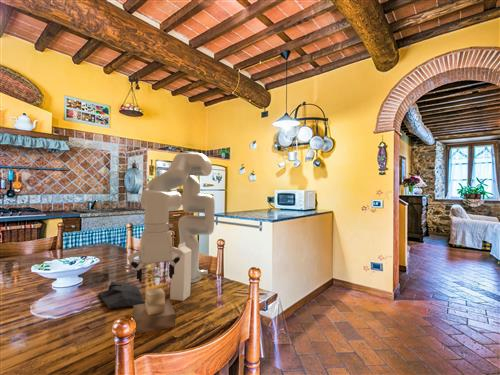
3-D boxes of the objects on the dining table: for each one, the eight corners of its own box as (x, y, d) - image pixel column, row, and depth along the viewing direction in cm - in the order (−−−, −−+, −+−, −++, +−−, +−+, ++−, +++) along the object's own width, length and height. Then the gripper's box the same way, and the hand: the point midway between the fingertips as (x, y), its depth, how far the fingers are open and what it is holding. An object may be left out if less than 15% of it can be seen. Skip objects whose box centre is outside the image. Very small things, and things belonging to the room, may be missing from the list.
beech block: (160, 305, 88) (161, 288, 88) (164, 311, 84) (165, 292, 84) (145, 308, 85) (145, 290, 86) (148, 315, 81) (148, 295, 81)
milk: (169, 299, 104) (171, 244, 104) (177, 293, 109) (178, 241, 110) (183, 301, 102) (184, 245, 103) (190, 295, 108) (191, 242, 109)
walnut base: (169, 310, 93) (169, 299, 93) (175, 326, 82) (175, 313, 83) (133, 317, 88) (133, 305, 88) (134, 334, 77) (134, 320, 77)
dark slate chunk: (100, 315, 90) (101, 301, 90) (98, 294, 108) (98, 282, 108) (147, 305, 98) (147, 293, 98) (137, 287, 117) (137, 277, 117)
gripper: (180, 225, 93) (179, 272, 94) (128, 227, 86) (127, 278, 86) (185, 228, 87) (184, 279, 87) (128, 231, 79) (127, 286, 79)
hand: (155, 278), depth 86 cm, fingers open, 9 cm apart
